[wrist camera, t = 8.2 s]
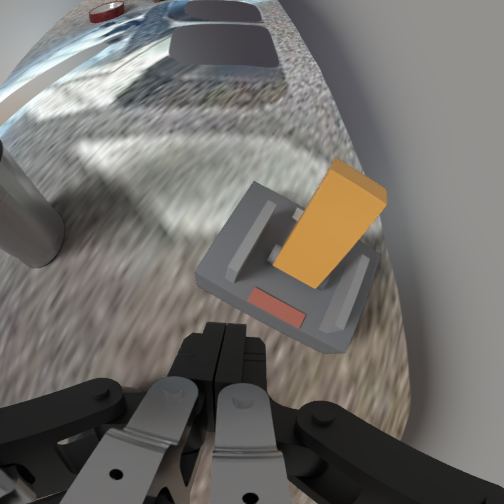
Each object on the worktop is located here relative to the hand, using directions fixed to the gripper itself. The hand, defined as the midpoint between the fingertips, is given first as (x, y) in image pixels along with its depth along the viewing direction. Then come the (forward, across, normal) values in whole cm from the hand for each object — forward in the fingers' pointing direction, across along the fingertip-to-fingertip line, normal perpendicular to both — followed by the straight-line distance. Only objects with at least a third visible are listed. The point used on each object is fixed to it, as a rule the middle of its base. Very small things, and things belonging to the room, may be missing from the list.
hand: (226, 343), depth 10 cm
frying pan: (+71, +58, -79) cm, 121 cm away
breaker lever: (+19, -5, +3) cm, 20 cm away
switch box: (+24, -5, +5) cm, 26 cm away
